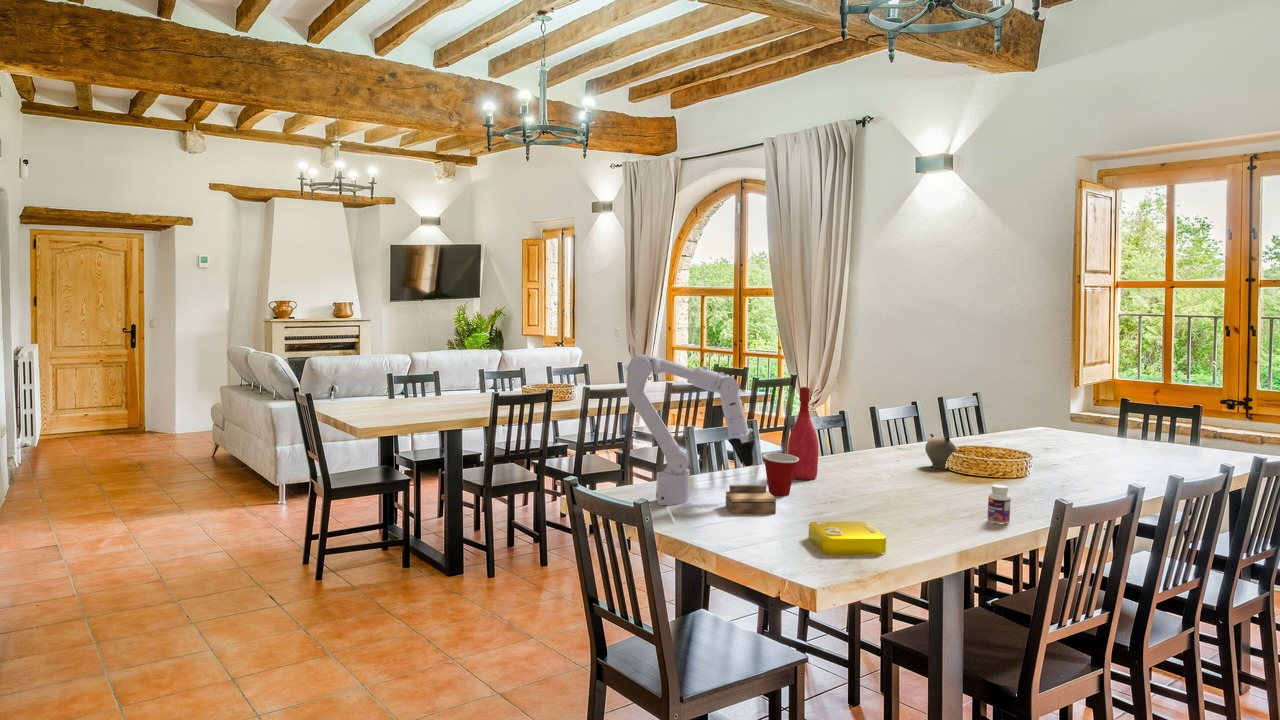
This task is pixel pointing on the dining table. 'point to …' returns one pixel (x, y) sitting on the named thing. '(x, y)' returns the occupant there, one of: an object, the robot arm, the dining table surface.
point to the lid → (749, 493)
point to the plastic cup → (779, 472)
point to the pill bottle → (999, 504)
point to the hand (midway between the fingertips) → (746, 463)
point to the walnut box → (750, 507)
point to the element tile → (846, 538)
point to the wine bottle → (804, 441)
